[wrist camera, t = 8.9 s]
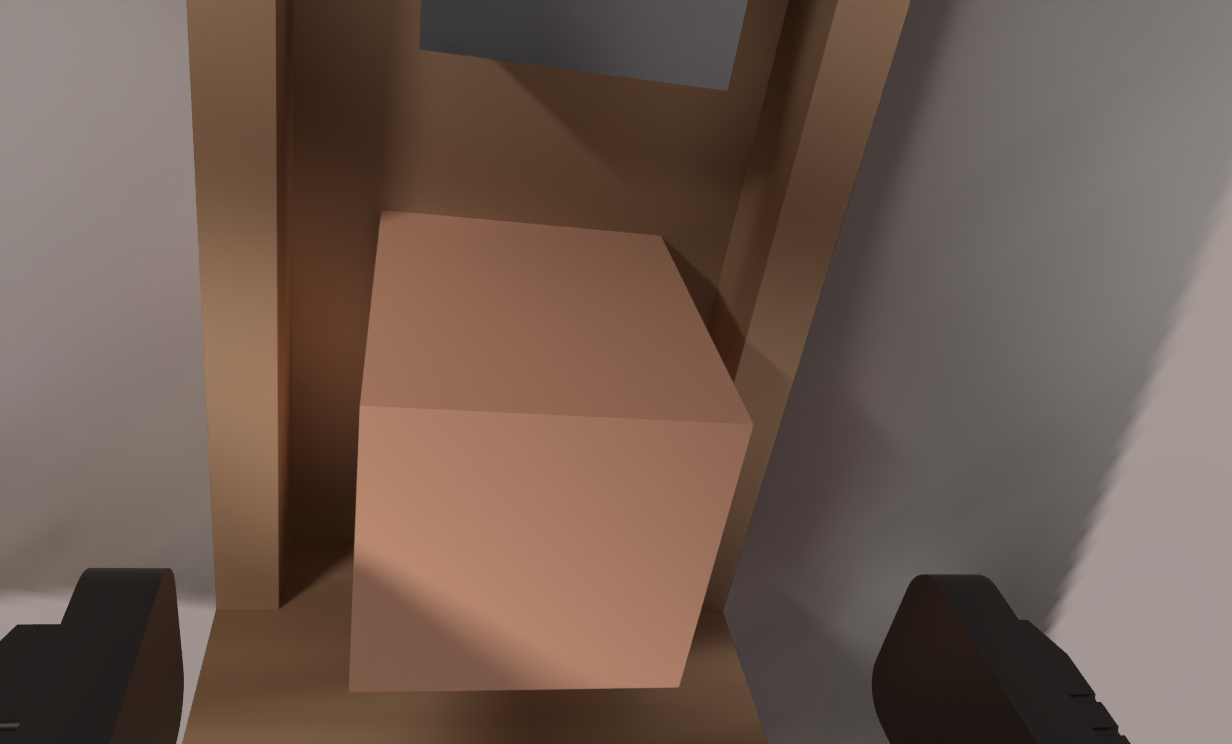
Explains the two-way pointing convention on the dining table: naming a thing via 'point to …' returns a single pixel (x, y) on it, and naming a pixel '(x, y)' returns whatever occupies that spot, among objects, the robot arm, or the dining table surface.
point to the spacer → (535, 460)
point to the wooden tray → (492, 190)
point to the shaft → (594, 35)
